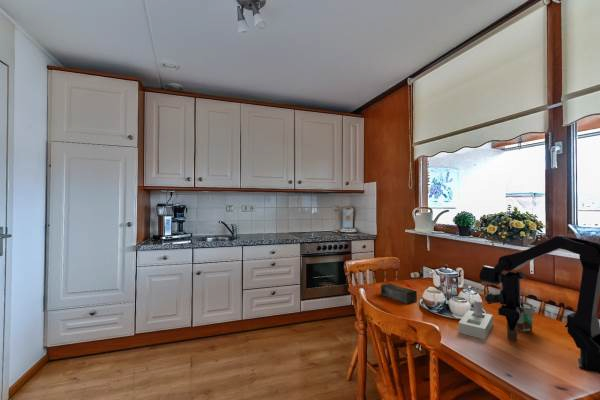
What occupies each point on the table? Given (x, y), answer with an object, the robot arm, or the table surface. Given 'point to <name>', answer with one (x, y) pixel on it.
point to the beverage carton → (399, 293)
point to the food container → (526, 318)
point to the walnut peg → (512, 333)
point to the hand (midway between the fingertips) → (512, 328)
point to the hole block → (476, 325)
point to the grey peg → (478, 308)
